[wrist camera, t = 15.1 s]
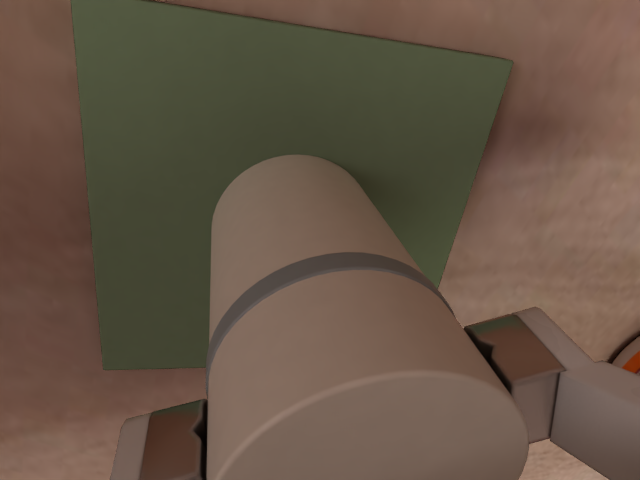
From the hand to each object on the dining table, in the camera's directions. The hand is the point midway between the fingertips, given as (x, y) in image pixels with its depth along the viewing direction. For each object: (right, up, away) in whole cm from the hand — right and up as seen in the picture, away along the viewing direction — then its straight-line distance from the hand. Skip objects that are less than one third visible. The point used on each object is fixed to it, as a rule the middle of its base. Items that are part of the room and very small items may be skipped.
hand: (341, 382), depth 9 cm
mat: (-2, +3, +6) cm, 7 cm away
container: (-1, +3, +6) cm, 7 cm away
